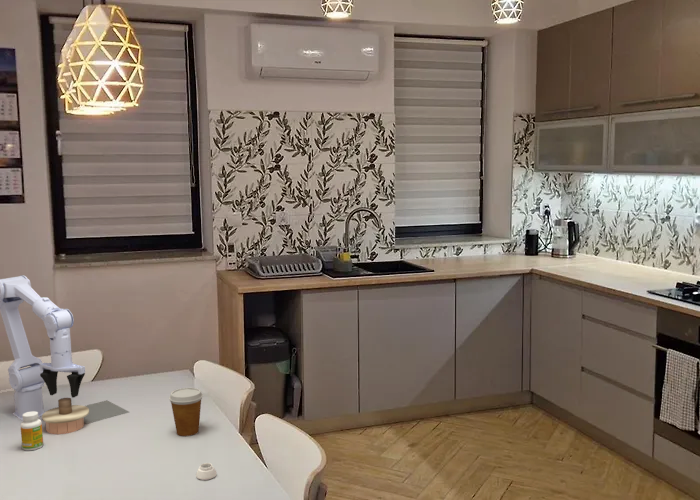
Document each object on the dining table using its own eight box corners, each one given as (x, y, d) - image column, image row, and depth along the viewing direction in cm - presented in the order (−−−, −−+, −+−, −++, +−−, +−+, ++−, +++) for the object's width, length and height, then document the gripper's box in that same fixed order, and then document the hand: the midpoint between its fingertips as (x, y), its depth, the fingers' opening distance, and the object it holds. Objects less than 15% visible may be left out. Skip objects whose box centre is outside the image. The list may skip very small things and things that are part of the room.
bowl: (41, 429, 212) (40, 416, 212) (75, 419, 219) (74, 407, 219) (55, 438, 205) (54, 424, 205) (89, 428, 212) (88, 415, 212)
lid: (35, 415, 213) (34, 399, 212) (78, 404, 221) (77, 389, 221) (51, 426, 203) (50, 410, 203) (96, 415, 212) (95, 399, 211)
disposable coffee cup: (211, 431, 208) (209, 391, 207) (183, 441, 201) (181, 400, 200) (192, 423, 215) (190, 385, 213) (164, 432, 208) (162, 393, 206)
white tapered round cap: (196, 482, 176) (216, 480, 177) (195, 470, 175) (216, 468, 176) (196, 473, 181) (216, 471, 182) (195, 462, 180) (215, 460, 181)
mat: (64, 412, 226) (64, 411, 226) (107, 401, 236) (107, 400, 236) (86, 425, 215) (86, 423, 215) (129, 413, 224) (129, 411, 224)
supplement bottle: (35, 451, 196) (32, 417, 195) (18, 450, 197) (15, 416, 196) (47, 444, 201) (44, 410, 200) (30, 442, 202) (27, 409, 201)
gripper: (90, 348, 212) (93, 393, 214) (49, 345, 217) (52, 389, 218) (75, 355, 206) (78, 400, 207) (33, 352, 210) (36, 396, 212)
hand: (64, 395), depth 212 cm, fingers open, 7 cm apart
